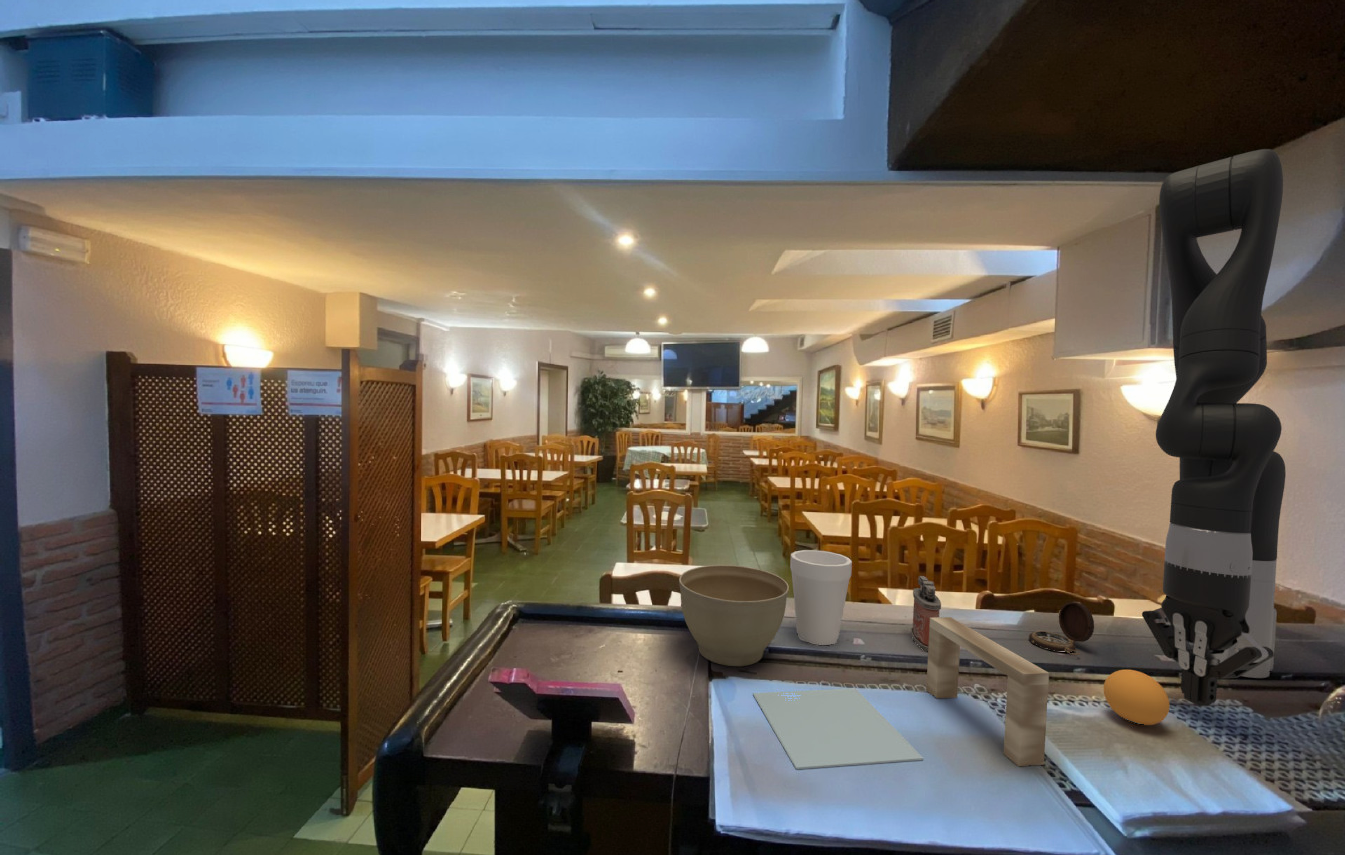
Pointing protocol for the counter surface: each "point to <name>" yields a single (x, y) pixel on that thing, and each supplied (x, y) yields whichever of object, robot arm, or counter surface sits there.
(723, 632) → the planter bowl
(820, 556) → the foam cup
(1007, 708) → the bridge
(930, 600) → the lighter
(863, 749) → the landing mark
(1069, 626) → the compass
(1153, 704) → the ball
